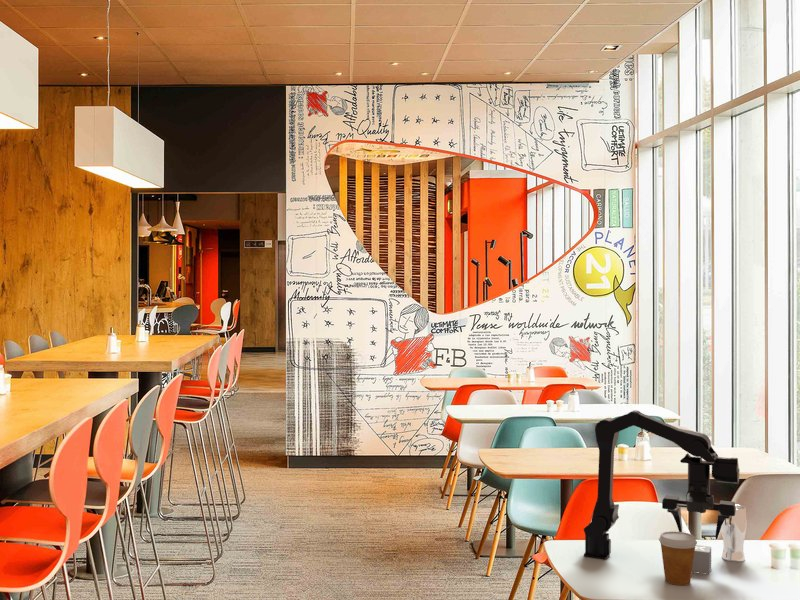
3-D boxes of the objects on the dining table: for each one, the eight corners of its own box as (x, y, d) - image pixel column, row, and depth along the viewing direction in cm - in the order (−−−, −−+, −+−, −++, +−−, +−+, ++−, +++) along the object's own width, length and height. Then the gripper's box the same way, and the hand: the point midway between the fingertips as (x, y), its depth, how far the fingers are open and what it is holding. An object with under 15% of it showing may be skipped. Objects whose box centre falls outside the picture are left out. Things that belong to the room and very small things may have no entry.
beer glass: (748, 563, 233) (748, 510, 233) (722, 561, 234) (722, 508, 234) (743, 556, 240) (743, 504, 240) (718, 554, 241) (718, 503, 241)
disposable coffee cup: (696, 578, 220) (696, 532, 220) (697, 589, 211) (697, 542, 211) (659, 574, 223) (659, 529, 223) (658, 585, 214) (658, 538, 214)
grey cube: (685, 571, 225) (685, 549, 225) (688, 565, 231) (688, 543, 231) (709, 574, 223) (709, 552, 223) (711, 568, 228) (711, 546, 228)
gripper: (659, 482, 224) (659, 539, 224) (733, 489, 216) (733, 548, 216) (665, 474, 234) (664, 530, 234) (735, 481, 226) (735, 538, 226)
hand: (698, 536), depth 227 cm, fingers open, 9 cm apart
